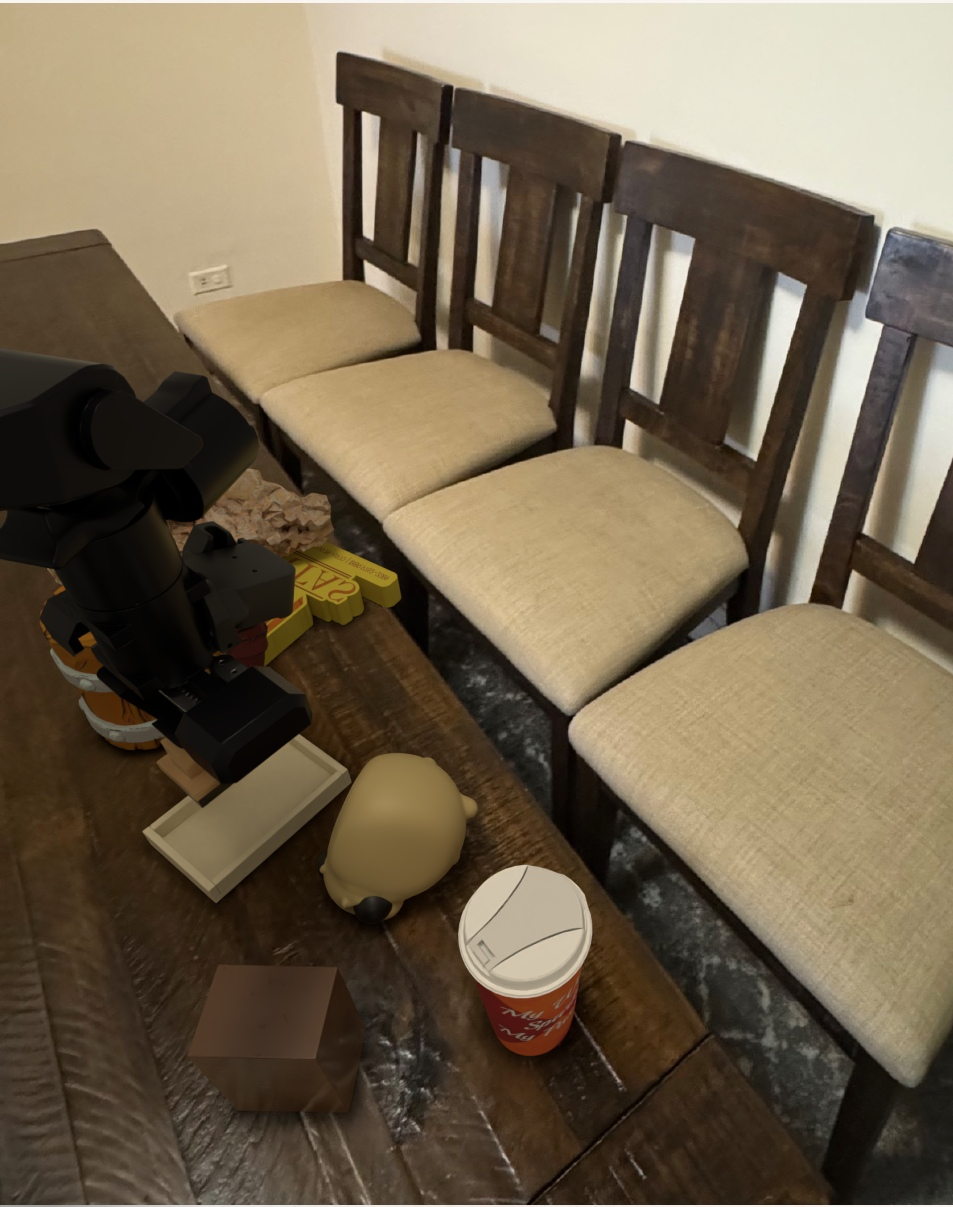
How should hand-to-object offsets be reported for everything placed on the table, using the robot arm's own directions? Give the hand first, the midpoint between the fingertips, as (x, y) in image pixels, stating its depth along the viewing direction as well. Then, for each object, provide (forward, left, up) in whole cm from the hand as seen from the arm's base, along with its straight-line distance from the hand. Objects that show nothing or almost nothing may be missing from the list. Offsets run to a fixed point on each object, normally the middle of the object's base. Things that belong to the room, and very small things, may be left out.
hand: (214, 746), depth 56 cm
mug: (+6, +17, -13) cm, 22 cm away
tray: (+2, +3, -13) cm, 14 cm away
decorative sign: (+26, +22, -12) cm, 36 cm away
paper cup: (+3, -25, -13) cm, 28 cm away
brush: (0, 0, -2) cm, 2 cm away
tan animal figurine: (+5, -10, -13) cm, 17 cm away
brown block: (-9, -15, -13) cm, 22 cm away
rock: (+14, +24, -11) cm, 30 cm away
